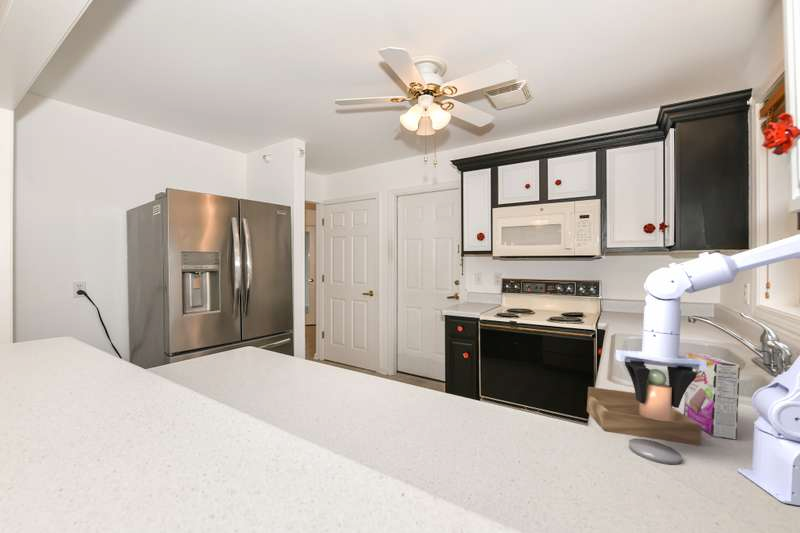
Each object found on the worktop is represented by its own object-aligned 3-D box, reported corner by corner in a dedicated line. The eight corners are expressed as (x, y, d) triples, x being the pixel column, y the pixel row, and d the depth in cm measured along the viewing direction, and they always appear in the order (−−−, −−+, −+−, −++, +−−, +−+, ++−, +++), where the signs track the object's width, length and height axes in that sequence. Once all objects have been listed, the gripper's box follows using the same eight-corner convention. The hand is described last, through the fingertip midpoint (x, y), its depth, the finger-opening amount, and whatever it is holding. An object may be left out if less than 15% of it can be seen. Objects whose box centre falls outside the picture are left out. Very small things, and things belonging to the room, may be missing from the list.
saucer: (691, 468, 62) (691, 462, 62) (640, 459, 64) (640, 454, 64) (666, 447, 70) (667, 442, 70) (622, 440, 72) (622, 435, 72)
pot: (675, 423, 65) (677, 373, 65) (644, 417, 66) (645, 369, 67) (664, 415, 69) (666, 368, 70) (635, 410, 71) (636, 365, 72)
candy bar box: (681, 417, 88) (685, 352, 89) (704, 421, 87) (708, 354, 88) (711, 437, 77) (715, 361, 78) (738, 441, 76) (742, 364, 77)
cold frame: (700, 445, 72) (702, 416, 73) (604, 430, 76) (605, 402, 76) (669, 422, 84) (670, 397, 84) (586, 411, 88) (588, 386, 88)
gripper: (691, 333, 70) (688, 402, 70) (611, 325, 73) (607, 391, 73) (715, 338, 63) (711, 415, 63) (625, 330, 66) (621, 403, 66)
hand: (656, 403), depth 67 cm, fingers closed on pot, 5 cm apart
